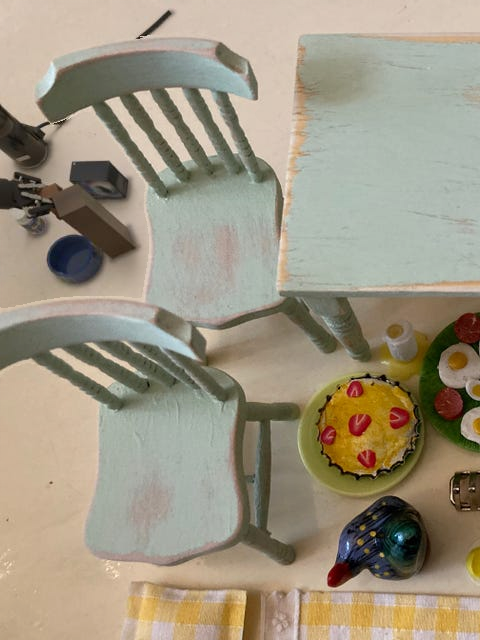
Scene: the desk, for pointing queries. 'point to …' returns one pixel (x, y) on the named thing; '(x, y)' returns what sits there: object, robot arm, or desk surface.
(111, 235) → the brown rectangular block
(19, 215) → the pill bottle
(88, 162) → the small box
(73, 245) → the bowl
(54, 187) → the reddish-brown short block
